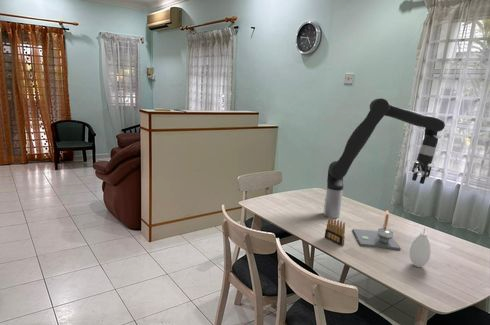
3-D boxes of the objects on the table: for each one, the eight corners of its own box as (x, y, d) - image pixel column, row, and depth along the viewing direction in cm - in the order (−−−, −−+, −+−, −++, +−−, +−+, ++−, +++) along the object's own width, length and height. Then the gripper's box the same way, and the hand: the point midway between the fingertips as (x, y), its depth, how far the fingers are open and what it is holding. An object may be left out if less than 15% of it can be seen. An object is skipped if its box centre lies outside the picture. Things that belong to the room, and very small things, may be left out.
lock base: (360, 245, 160) (361, 238, 160) (352, 230, 178) (353, 223, 177) (400, 250, 159) (401, 242, 158) (388, 234, 176) (389, 227, 175)
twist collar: (392, 240, 159) (396, 221, 157) (377, 237, 161) (380, 219, 159) (391, 228, 173) (394, 211, 171) (377, 226, 175) (380, 209, 173)
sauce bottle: (404, 260, 149) (411, 223, 145) (421, 261, 149) (429, 225, 145) (412, 269, 141) (420, 231, 137) (430, 271, 141) (438, 232, 137)
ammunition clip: (343, 245, 160) (347, 222, 157) (341, 246, 159) (344, 223, 156) (326, 237, 168) (329, 215, 166) (324, 237, 167) (326, 215, 164)
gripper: (413, 151, 188) (405, 178, 191) (426, 154, 174) (417, 183, 177) (425, 154, 188) (417, 181, 191) (440, 157, 174) (430, 186, 177)
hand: (417, 182), depth 184 cm, fingers open, 8 cm apart
